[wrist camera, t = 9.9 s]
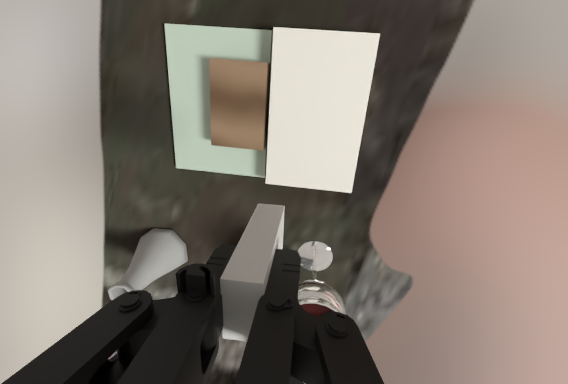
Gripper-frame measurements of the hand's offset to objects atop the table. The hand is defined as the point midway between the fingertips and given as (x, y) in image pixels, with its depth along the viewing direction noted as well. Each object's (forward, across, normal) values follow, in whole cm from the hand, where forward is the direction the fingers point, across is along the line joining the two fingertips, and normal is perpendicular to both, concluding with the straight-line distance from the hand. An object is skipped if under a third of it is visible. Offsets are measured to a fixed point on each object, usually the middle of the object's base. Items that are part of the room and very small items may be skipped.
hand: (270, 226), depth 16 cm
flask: (+19, +18, +16) cm, 31 cm away
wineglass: (+19, -4, +14) cm, 24 cm away
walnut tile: (+18, +6, -5) cm, 20 cm away
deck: (+19, -2, -5) cm, 19 cm away
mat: (+19, +9, -5) cm, 21 cm away
